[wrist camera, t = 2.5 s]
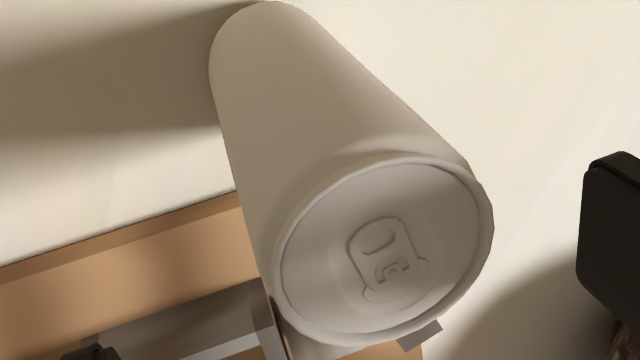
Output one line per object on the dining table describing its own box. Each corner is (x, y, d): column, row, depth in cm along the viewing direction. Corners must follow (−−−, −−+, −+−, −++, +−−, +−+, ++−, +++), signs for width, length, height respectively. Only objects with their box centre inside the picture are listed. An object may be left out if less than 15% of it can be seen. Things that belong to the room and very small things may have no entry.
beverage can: (242, 141, 21) (325, 385, 11) (178, 36, 19) (213, 238, 9) (347, 85, 21) (520, 280, 11) (299, -28, 19) (471, 100, 9)
